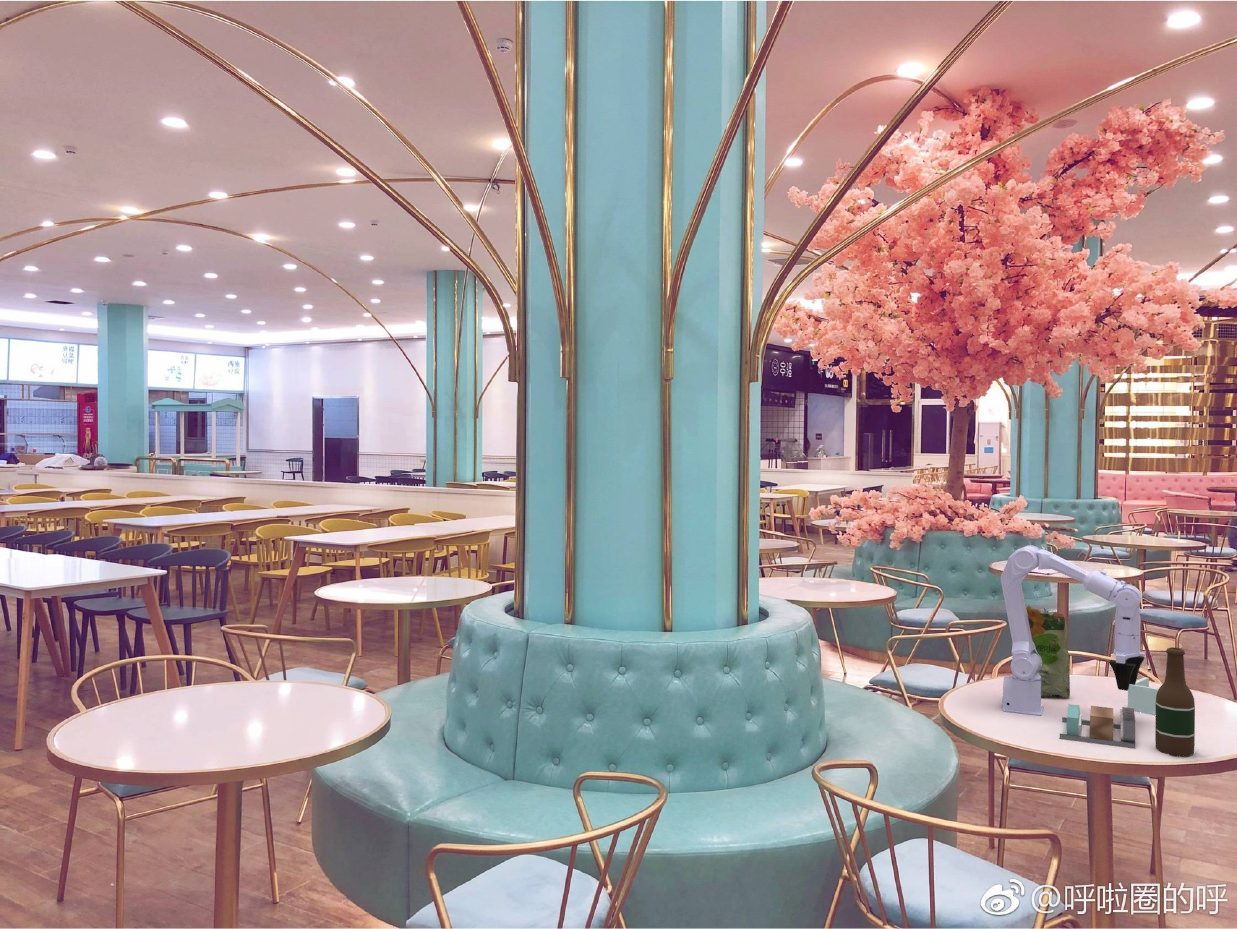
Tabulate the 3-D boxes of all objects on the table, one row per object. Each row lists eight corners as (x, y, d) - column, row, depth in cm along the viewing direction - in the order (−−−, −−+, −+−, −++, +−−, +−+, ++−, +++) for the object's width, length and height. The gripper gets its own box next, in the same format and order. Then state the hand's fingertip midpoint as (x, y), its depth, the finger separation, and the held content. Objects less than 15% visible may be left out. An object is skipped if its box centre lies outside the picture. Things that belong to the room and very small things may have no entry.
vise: (1059, 739, 223) (1059, 714, 223) (1062, 721, 238) (1062, 698, 238) (1135, 749, 216) (1135, 723, 216) (1133, 730, 230) (1133, 706, 230)
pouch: (1070, 702, 256) (1070, 612, 256) (1023, 697, 261) (1023, 609, 261) (1069, 692, 266) (1070, 606, 266) (1024, 688, 271) (1024, 603, 271)
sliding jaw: (1066, 737, 224) (1066, 717, 224) (1068, 723, 235) (1068, 704, 235) (1080, 739, 223) (1080, 718, 222) (1081, 725, 234) (1081, 705, 234)
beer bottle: (1194, 759, 209) (1195, 653, 208) (1154, 753, 213) (1155, 649, 212) (1194, 750, 215) (1195, 647, 215) (1155, 744, 219) (1156, 643, 219)
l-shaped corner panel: (1177, 721, 240) (1177, 693, 239) (1127, 712, 249) (1127, 684, 248) (1193, 713, 247) (1193, 685, 247) (1144, 704, 256) (1144, 677, 256)
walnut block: (1089, 740, 223) (1090, 715, 223) (1090, 729, 232) (1090, 705, 232) (1113, 743, 221) (1113, 718, 221) (1113, 732, 229) (1113, 708, 229)
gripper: (1138, 640, 226) (1137, 695, 226) (1151, 631, 237) (1151, 684, 237) (1106, 636, 231) (1106, 690, 231) (1121, 627, 242) (1120, 679, 242)
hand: (1126, 686), depth 234 cm, fingers open, 7 cm apart
